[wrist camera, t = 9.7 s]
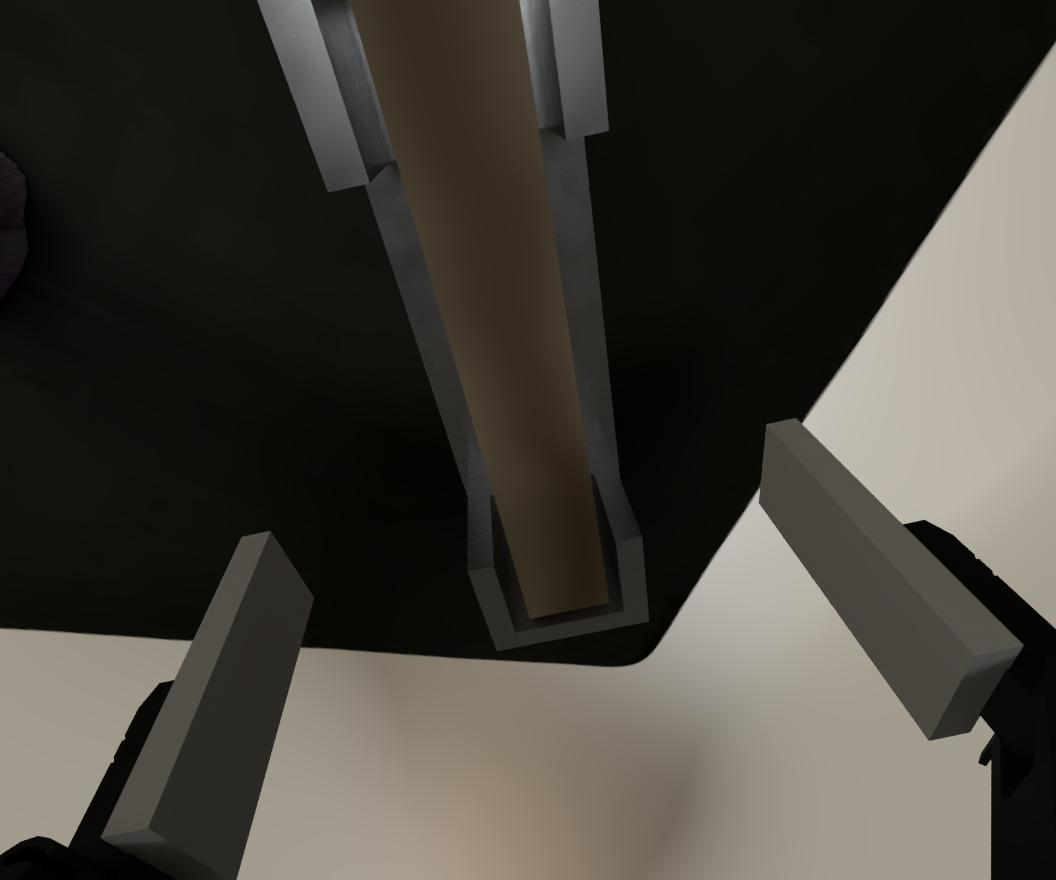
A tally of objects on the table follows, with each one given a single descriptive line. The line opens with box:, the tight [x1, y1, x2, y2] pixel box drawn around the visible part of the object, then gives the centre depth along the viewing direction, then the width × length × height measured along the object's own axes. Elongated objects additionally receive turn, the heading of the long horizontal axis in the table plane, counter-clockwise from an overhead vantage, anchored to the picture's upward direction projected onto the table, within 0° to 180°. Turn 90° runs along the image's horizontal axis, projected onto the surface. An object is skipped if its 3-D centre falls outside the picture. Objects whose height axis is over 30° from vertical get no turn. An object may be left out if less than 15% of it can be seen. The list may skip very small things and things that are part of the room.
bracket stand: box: [258, 0, 649, 651], centre depth 24 cm, size 10×30×11 cm, turn 11°
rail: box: [349, 0, 609, 619], centre depth 21 cm, size 4×24×5 cm, turn 10°
